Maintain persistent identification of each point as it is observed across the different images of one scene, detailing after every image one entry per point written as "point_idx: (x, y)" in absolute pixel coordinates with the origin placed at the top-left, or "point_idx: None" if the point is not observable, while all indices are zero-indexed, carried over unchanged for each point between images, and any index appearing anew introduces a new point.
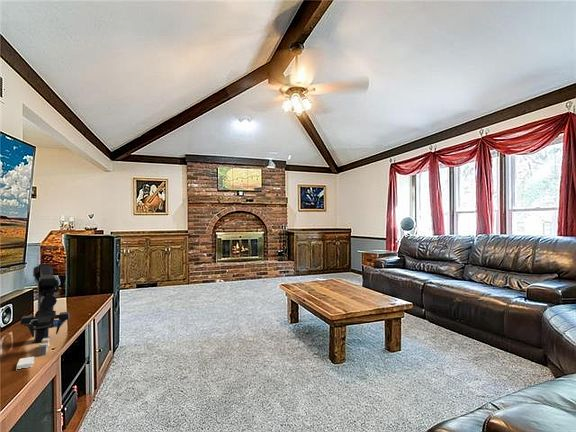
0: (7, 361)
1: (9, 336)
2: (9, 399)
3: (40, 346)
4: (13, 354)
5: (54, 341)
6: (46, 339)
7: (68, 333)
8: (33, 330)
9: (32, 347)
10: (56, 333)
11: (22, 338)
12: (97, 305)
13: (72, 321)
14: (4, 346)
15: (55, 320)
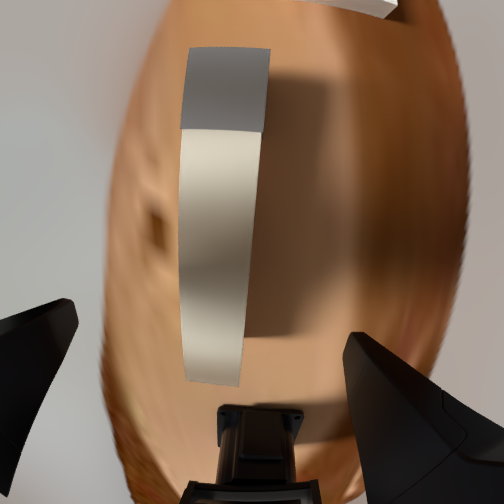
0: (456, 116)
1: None
2: None
3: (250, 73)
4: (428, 253)
5: (180, 385)
6: (204, 338)
7: (141, 441)
8: (385, 421)
9: (311, 345)
10: (61, 303)
11: (334, 461)
12: None
13: (171, 500)
14: None
15: None
